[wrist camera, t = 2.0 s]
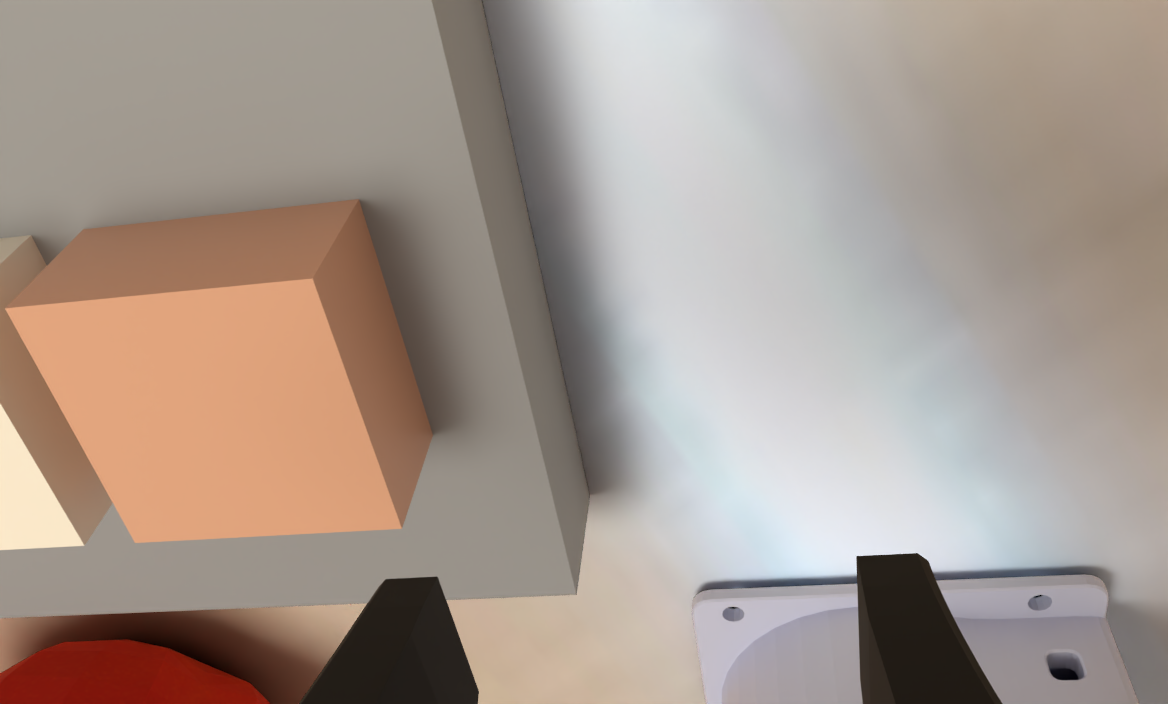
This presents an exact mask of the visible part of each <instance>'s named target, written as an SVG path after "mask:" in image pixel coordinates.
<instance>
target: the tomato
mask: <svg viewBox="0 0 1168 704" xmlns="http://www.w3.org/2000/svg"><path fill="white" fill-rule="evenodd" d="M0 704H270V703H269V702H268V701H267V700H266V699H265V698H264V697H263V696H262V695H261V694H260V693H259V692H258V691H257V690H256V689H255V688H254V687H253V686H252V685H251V683H249V682H247V681H244V680H242V679H240V678H238V677H235V676H233V675H230V674H228V673H225V672H223V671H220V670H218V669H216V668H213V667H211V666H208V665H206V664H204V663H201V662H199V661H197V660H195V659H192V658H190V657H188V656H186V655H183V654H181V653H179V652H176V651H174V650H172V649H170V648H166V647H161V646H156V645H152V644H147V643H142V642H137V641H133V640H128V639H125V640H101V641H78V642H63V643H60V644H57V645H55V646H52V647H49V648H46V649H43V650H41V651H38V652H36V653H35V654H33V655H31V656H30V657H28V658H26V659H24V660H23V661H21V662H19V663H17V664H16V665H14V666H12V667H11V668H9V669H7V670H5V671H4V672H2V673H0Z"/></svg>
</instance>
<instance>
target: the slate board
mask: <svg viewBox="0 0 1168 704" xmlns="http://www.w3.org/2000/svg"><path fill="white" fill-rule="evenodd" d="M355 199H359V201H360V204H361V208H362V211H363V214H364V217H365V220H366V223H367V227H368V230H369V233H370V236H371V239H372V243H373V246H374V249H375V252H376V255H377V259H378V262H379V265H380V268H381V271H382V274H383V278H384V281H385V284H386V287H387V290H388V294H389V297H390V300H391V303H392V306H393V309H394V313H395V316H396V319H397V322H398V325H399V329H400V332H401V335H402V338H403V341H404V344H405V348H406V351H407V354H408V357H409V360H410V364H411V367H412V370H413V373H414V376H415V379H416V383H417V386H418V389H419V392H420V395H421V399H422V402H423V405H424V408H425V411H426V415H427V418H428V421H429V424H430V427H431V430H432V434H433V437H432V440H431V443H430V446H429V449H428V452H427V455H426V458H425V461H424V464H423V467H422V470H421V473H420V476H419V479H418V482H417V485H416V488H415V491H414V494H413V497H412V500H411V503H410V506H409V509H408V512H407V515H406V518H405V521H404V524H403V527H402V529H389V530H371V531H352V532H333V533H314V534H295V535H277V536H258V537H239V538H220V539H202V540H183V541H164V542H145V543H135V542H134V540H133V538H132V537H131V535H130V533H129V531H128V529H127V528H126V526H125V524H124V522H123V520H122V519H121V517H120V515H119V513H118V511H117V510H116V508H115V506H114V504H113V503H112V505H111V506H110V508H109V509H108V511H107V512H106V514H105V515H104V517H103V519H102V520H101V522H100V523H99V525H98V526H97V528H96V529H95V531H94V532H93V534H92V535H91V537H90V538H89V540H88V541H87V543H86V544H85V546H70V547H51V548H32V549H14V550H0V618H19V617H44V616H68V615H93V614H117V613H141V612H166V611H190V610H215V609H239V608H264V607H288V606H313V605H337V604H362V603H368V602H369V600H370V599H371V597H372V596H373V594H374V593H375V592H376V590H377V589H378V587H379V586H380V585H381V584H382V583H383V581H384V580H385V579H396V578H417V577H438V579H439V582H440V585H441V587H442V590H443V593H444V596H445V599H446V600H460V599H484V598H509V597H533V596H558V595H577V588H578V580H579V573H580V565H581V558H582V551H583V543H584V536H585V528H586V521H587V514H588V506H589V499H590V495H589V491H588V486H587V482H586V477H585V472H584V468H583V463H582V459H581V454H580V449H579V445H578V440H577V436H576V431H575V426H574V422H573V417H572V413H571V408H570V403H569V399H568V394H567V390H566V385H565V380H564V376H563V371H562V367H561V362H560V357H559V353H558V348H557V344H556V339H555V334H554V330H553V325H552V321H551V316H550V312H549V307H548V302H547V298H546V293H545V289H544V284H543V279H542V275H541V270H540V266H539V261H538V256H537V252H536V247H535V243H534V238H533V233H532V229H531V224H530V220H529V215H528V210H527V206H526V201H525V197H524V192H523V187H522V183H521V178H520V174H519V169H518V165H517V160H516V155H515V151H514V146H513V142H512V137H511V132H510V128H509V123H508V119H507V114H506V109H505V105H504V100H503V96H502V91H501V86H500V82H499V77H498V73H497V68H496V63H495V59H494V54H493V50H492V45H491V40H490V36H489V31H488V27H487V22H486V17H485V13H484V8H483V4H482V0H0V238H9V237H18V236H28V235H31V236H32V238H33V240H34V242H35V244H36V246H37V248H38V250H39V252H40V254H41V256H42V257H43V259H44V261H45V263H46V265H48V264H49V263H50V262H51V261H52V260H53V259H54V258H55V257H56V256H57V255H58V254H59V253H60V252H61V251H62V250H63V249H64V248H65V247H66V246H67V245H68V244H69V243H70V242H71V241H72V240H73V239H74V238H75V237H76V236H77V235H78V234H79V233H80V232H81V231H82V230H83V229H91V228H100V227H109V226H118V225H128V224H137V223H146V222H155V221H164V220H173V219H182V218H191V217H200V216H209V215H218V214H228V213H237V212H246V211H255V210H264V209H273V208H282V207H291V206H300V205H309V204H318V203H328V202H337V201H346V200H355Z"/></svg>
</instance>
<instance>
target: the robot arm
mask: <svg viewBox="0 0 1168 704" xmlns="http://www.w3.org/2000/svg"><path fill="white" fill-rule="evenodd" d="M1038 595H1043V596H1041V597H1036V598H1033V597H1034V596H1038ZM1108 602H1109V596H1108V591H1107V589H1106V586H1105V584H1104V582H1103V581H1102V580H1101V579H1100V578H1098V577H1096V576H1093V575H1084V574H1081V575H1056V576H1032V577H1007V578H983V579H958V580H936V579H935V577H934V575H933V572H932V570H931V567H930V564H929V562H928V561H927V560H926V559H925V558H923V557H922V556H920V555H919V554H918V553H915V554H894V555H873V556H857V584H836V585H811V586H787V587H762V588H738V589H713V590H706V591H702V592H700V593H698V594H696V596H695V597H694V598H693V601H692V618H693V625H694V631H695V637H696V644H697V650H698V656H699V662H700V669H701V675H702V681H703V688H704V694H705V700H706V704H1139V702H1138V699H1137V697H1136V694H1135V691H1134V689H1133V686H1132V684H1131V681H1130V678H1129V676H1128V673H1127V671H1126V668H1125V665H1124V663H1123V660H1122V658H1121V655H1120V652H1119V650H1118V647H1117V645H1116V642H1115V639H1114V637H1113V634H1112V632H1111V629H1110V626H1109V624H1108V621H1107V619H1106V614H1107V608H1108ZM728 607H738V608H736V609H730V608H728ZM478 694H479V691H478V688H477V685H476V683H475V680H474V677H473V674H472V671H471V669H470V666H469V663H468V660H467V657H466V655H465V652H464V649H463V646H462V643H461V641H460V638H459V635H458V632H457V629H456V627H455V624H454V621H453V618H452V615H451V613H450V610H449V607H448V604H447V601H446V599H445V596H444V593H443V590H442V587H441V585H440V582H439V579H438V577H417V578H396V579H385V580H384V581H383V583H382V584H381V585H380V586H379V587H378V589H377V590H376V592H375V593H374V594H373V596H372V597H371V599H370V600H369V602H368V603H367V605H366V606H365V608H364V609H363V611H362V612H361V614H360V615H359V617H358V618H357V620H356V621H355V623H354V624H353V626H352V627H351V629H350V630H349V632H348V633H347V635H346V636H345V638H344V639H343V641H342V642H341V644H340V645H339V647H338V648H337V650H336V651H335V653H334V654H333V655H332V657H331V658H330V660H329V661H328V663H327V664H326V666H325V667H324V669H323V670H322V671H321V673H320V674H319V676H318V677H317V679H316V680H315V682H314V683H313V685H312V686H311V687H310V689H309V690H308V692H307V693H306V694H305V696H304V697H303V699H302V700H301V701H300V703H299V704H478Z"/></svg>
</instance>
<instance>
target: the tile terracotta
mask: <svg viewBox="0 0 1168 704" xmlns="http://www.w3.org/2000/svg"><path fill="white" fill-rule="evenodd" d="M5 309H6V311H7V313H8V315H9V317H10V318H11V320H12V322H13V324H14V326H15V328H16V329H17V331H18V333H19V335H20V337H21V338H22V340H23V342H24V344H25V346H26V347H27V349H28V351H29V353H30V355H31V356H32V358H33V360H34V362H35V364H36V365H37V367H38V369H39V371H40V373H41V374H42V376H43V378H44V380H45V382H46V383H47V385H48V387H49V389H50V391H51V392H52V394H53V396H54V398H55V400H56V401H57V403H58V405H59V407H60V409H61V410H62V412H63V414H64V416H65V418H66V419H67V421H68V423H69V425H70V427H71V428H72V430H73V432H74V434H75V436H76V437H77V439H78V441H79V443H80V445H81V446H82V448H83V450H84V452H85V454H86V455H87V457H88V459H89V461H90V463H91V465H92V466H93V468H94V470H95V472H96V474H97V475H98V477H99V479H100V481H101V483H102V484H103V486H104V488H105V490H106V492H107V493H108V495H109V497H110V499H111V501H112V502H113V504H114V506H115V508H116V510H117V511H118V513H119V515H120V517H121V519H122V520H123V522H124V524H125V526H126V528H127V529H128V531H129V533H130V535H131V537H132V538H133V540H134V542H135V543H145V542H164V541H183V540H202V539H220V538H239V537H258V536H277V535H295V534H314V533H333V532H352V531H371V530H389V529H402V527H403V524H404V521H405V518H406V515H407V512H408V509H409V506H410V503H411V500H412V497H413V494H414V491H415V488H416V485H417V482H418V479H419V476H420V473H421V470H422V467H423V464H424V461H425V458H426V455H427V452H428V449H429V446H430V443H431V440H432V437H433V434H432V430H431V427H430V424H429V421H428V418H427V415H426V411H425V408H424V405H423V402H422V399H421V395H420V392H419V389H418V386H417V383H416V379H415V376H414V373H413V370H412V367H411V364H410V360H409V357H408V354H407V351H406V348H405V344H404V341H403V338H402V335H401V332H400V329H399V325H398V322H397V319H396V316H395V313H394V309H393V306H392V303H391V300H390V297H389V294H388V290H387V287H386V284H385V281H384V278H383V274H382V271H381V268H380V265H379V262H378V259H377V255H376V252H375V249H374V246H373V243H372V239H371V236H370V233H369V230H368V227H367V223H366V220H365V217H364V214H363V211H362V208H361V204H360V201H359V199H355V200H346V201H337V202H328V203H318V204H309V205H300V206H291V207H282V208H273V209H264V210H255V211H246V212H237V213H228V214H218V215H209V216H200V217H191V218H182V219H173V220H164V221H155V222H146V223H137V224H128V225H118V226H109V227H100V228H91V229H83V230H82V231H81V232H80V233H79V234H78V235H77V236H76V237H75V238H74V239H73V240H72V241H71V242H70V243H69V244H68V245H67V246H66V247H65V248H64V249H63V250H62V251H61V252H60V253H59V254H58V255H57V256H56V257H55V258H54V259H53V260H52V261H51V262H50V263H49V264H48V265H47V266H46V267H45V268H44V269H43V270H42V271H41V272H40V273H39V274H38V275H37V276H36V277H35V278H34V279H33V280H32V281H31V283H30V284H29V285H28V286H27V287H26V288H25V289H24V290H23V291H22V292H21V293H20V294H19V295H18V296H17V297H16V298H15V299H14V300H13V301H12V302H11V303H10V304H9V305H8V306H7V307H6V308H5Z"/></svg>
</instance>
